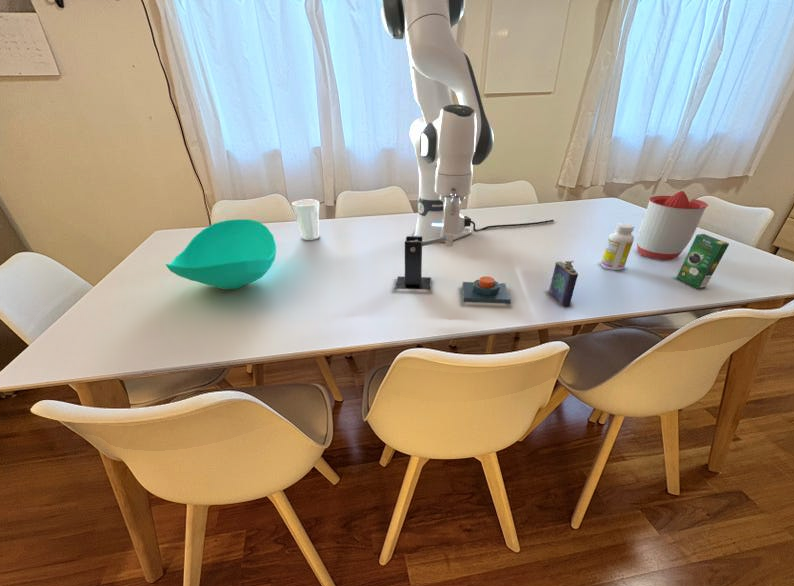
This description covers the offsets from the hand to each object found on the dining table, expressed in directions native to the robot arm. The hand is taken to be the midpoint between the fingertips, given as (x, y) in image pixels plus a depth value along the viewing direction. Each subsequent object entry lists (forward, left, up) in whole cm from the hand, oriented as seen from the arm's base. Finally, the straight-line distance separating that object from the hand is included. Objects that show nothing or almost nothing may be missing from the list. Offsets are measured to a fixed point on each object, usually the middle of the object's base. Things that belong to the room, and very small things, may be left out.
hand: (448, 241), depth 100 cm
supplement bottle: (-53, +18, -14) cm, 57 cm away
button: (-5, +11, -10) cm, 15 cm away
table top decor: (+50, -38, -14) cm, 65 cm away
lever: (+4, -3, -1) cm, 5 cm away
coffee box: (-60, +38, -14) cm, 72 cm away
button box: (-5, +11, -13) cm, 18 cm away
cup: (+15, -64, -14) cm, 67 cm away
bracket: (+7, -6, -13) cm, 16 cm away
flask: (-21, +23, -14) cm, 34 cm away
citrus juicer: (-76, +20, -14) cm, 79 cm away
